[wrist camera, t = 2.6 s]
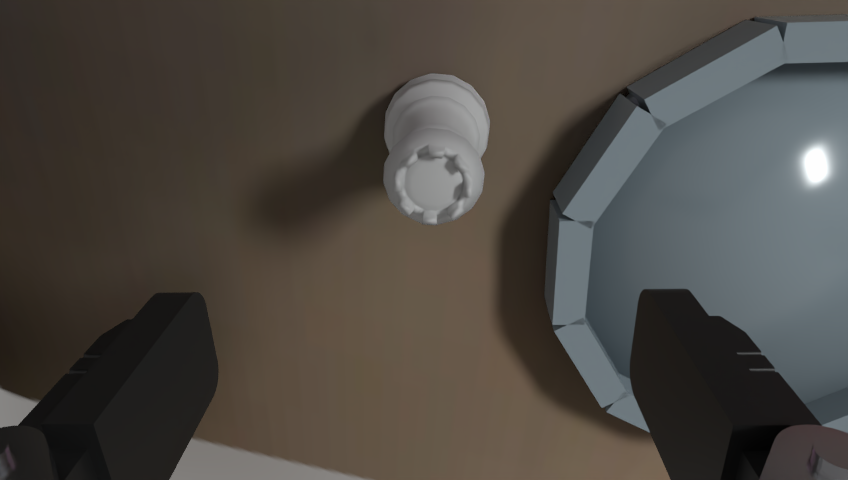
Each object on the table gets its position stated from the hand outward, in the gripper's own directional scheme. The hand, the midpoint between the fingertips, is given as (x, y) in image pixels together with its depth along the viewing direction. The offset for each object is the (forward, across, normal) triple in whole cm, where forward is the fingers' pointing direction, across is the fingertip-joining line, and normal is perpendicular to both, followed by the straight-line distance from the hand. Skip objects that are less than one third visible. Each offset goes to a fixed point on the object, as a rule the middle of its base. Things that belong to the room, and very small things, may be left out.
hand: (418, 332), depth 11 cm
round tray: (+16, -15, +6) cm, 23 cm away
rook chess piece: (+16, 0, 0) cm, 16 cm away
